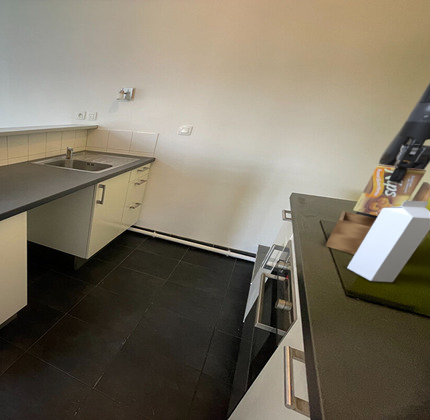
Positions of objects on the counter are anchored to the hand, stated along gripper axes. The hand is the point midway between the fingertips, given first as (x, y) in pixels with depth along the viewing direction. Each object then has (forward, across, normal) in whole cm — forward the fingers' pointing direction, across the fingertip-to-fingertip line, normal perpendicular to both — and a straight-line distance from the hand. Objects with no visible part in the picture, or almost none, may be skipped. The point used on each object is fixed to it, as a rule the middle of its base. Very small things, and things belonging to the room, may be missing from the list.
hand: (393, 180), depth 74 cm
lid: (+7, 0, -6) cm, 9 cm away
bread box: (+24, 0, 0) cm, 24 cm away
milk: (+24, -21, -3) cm, 32 cm away
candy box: (+11, 0, 0) cm, 11 cm away
